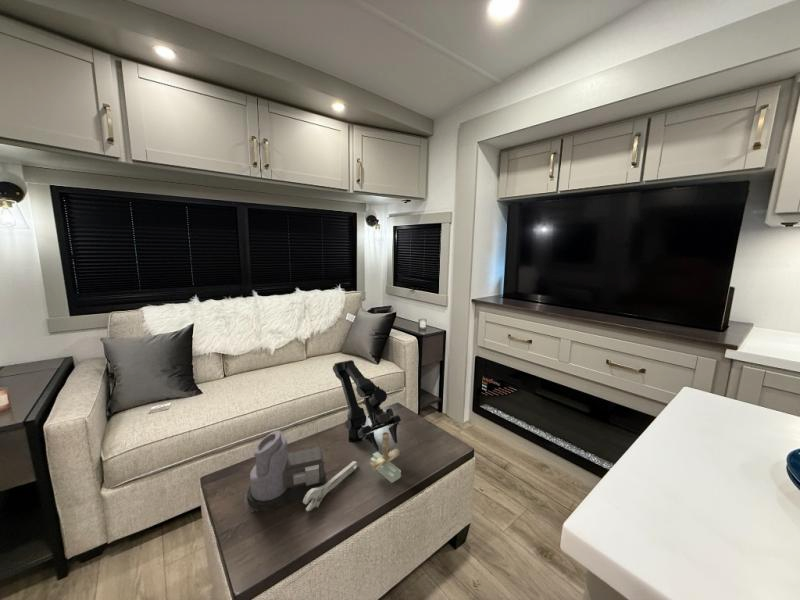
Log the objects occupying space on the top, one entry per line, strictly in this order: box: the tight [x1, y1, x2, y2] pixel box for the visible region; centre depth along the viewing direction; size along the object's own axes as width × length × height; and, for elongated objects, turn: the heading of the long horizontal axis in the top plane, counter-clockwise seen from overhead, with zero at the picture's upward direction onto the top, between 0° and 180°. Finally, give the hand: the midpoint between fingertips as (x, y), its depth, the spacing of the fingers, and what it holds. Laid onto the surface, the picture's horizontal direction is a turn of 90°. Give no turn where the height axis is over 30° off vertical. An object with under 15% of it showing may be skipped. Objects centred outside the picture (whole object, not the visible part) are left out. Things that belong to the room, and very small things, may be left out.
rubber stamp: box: [369, 432, 401, 471], centre depth 129 cm, size 14×2×12 cm, turn 133°
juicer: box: [243, 430, 328, 513], centre depth 118 cm, size 30×16×24 cm, turn 110°
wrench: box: [302, 460, 359, 512], centre depth 121 cm, size 8×2×30 cm
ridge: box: [369, 451, 402, 484], centre depth 131 cm, size 14×5×4 cm, turn 43°
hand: (387, 446), depth 128 cm, fingers open, 8 cm apart
